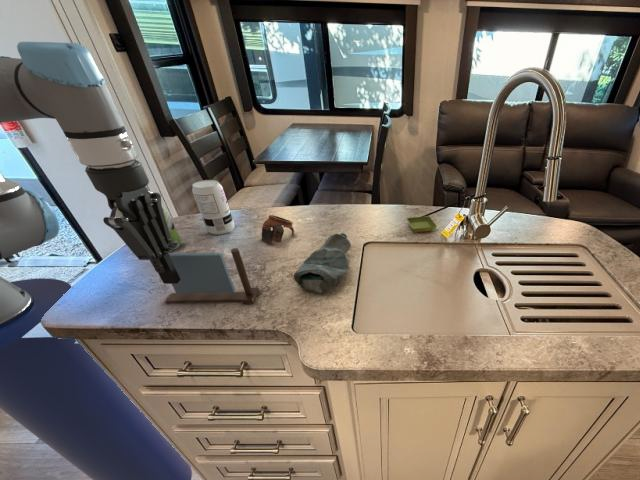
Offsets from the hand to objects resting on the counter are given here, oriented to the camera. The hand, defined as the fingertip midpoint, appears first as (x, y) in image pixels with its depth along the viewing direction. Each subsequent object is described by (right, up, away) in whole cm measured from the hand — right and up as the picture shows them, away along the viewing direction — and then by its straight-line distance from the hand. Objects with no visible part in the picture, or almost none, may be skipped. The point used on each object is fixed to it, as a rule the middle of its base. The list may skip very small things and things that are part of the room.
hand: (172, 281), depth 67 cm
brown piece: (+10, +15, +34) cm, 38 cm away
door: (+2, -2, +8) cm, 8 cm away
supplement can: (-11, +19, +38) cm, 44 cm away
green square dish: (+55, +21, +43) cm, 73 cm away
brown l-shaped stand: (+3, -3, +10) cm, 11 cm away
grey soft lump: (+29, +4, +21) cm, 36 cm away
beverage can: (-20, +11, +28) cm, 36 cm away
